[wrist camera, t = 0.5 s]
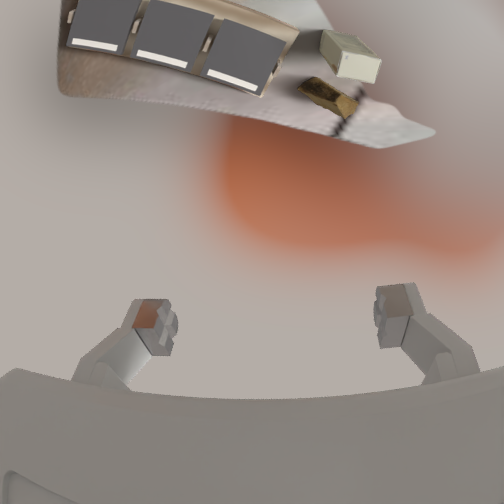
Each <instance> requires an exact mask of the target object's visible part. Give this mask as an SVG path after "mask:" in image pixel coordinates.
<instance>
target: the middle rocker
mask: <svg viewBox="0 0 504 504" xmlns="http://www.w3.org/2000/svg"><path fill="white" fill-rule="evenodd" d="M214 16H215V15H213V14H209V13H206V12H203V11H199V10H196V9H192V8H189V7H185V6H181V5H177V4H173V3H169V2H164V1H160V0H150V2H149V4H148V7H147V9H146V12H145V15H144V17H143V20H142V23H141V25H140V28H139V31H138V34H137V37H136V40H135V43H134V45H133V49H132V52H131V55H130V57H131V58H136V59H140V60H144V61H149V62H153V63H157V64H161V65H164V66H168V67H172V68H175V69H179V70H183V71H186V72H189V73H191V70H192V68H193V65H194V63H195V60H196V58H197V55H198V53H199V51H200V48H201V46H202V43H203V41H204V39H205V36H206V34H207V32H208V30H209V27H210V25H211V23H212V21H213V18H214Z"/></svg>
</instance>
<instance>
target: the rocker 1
mask: <svg viewBox="0 0 504 504" xmlns="http://www.w3.org/2000/svg"><path fill="white" fill-rule="evenodd" d="M141 2H142V0H79V2H78V5H77V8H76V11H75V15H74V18H73V21H72V25H71V29H70V32H69V36H68V40H67V44H66V46H70V47H77V48H84V49H90V50H96V51H102V52H107V53H112V54H117V55H122V54H123V53H124V50H125V46H126V43H127V40H128V37H129V34H130V31H131V29H132V26H133V23H134V20H135V17H136V15H137V12H138V9H139V7H140V4H141Z"/></svg>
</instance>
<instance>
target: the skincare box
mask: <svg viewBox="0 0 504 504" xmlns="http://www.w3.org/2000/svg"><path fill="white" fill-rule="evenodd" d="M319 51H320V52H321V54H322V55H323V56H324V58H325V59H326V61H327V62H328V64H329V65H330V67H331V68H332V70H333V71H334V73H335V75H336V76H337V77H341V78H346V79H351V80H356V81H362V82H367V83H373V84H374V82H375V80H376V77H377V74H378V72H379V69H380V66H381V63H382V60H381V59H380V58H379V57H378V56H377V55H376V54H375V53H374V52H373V51H372V50H371V49H370V48H368V46H366V45H365V44H364V43H363V42H362V41H361V40H360V39H359V38H358V37H357V36H353V35H350V34H346V33H341V32H336V31H330V30H323V33H322V37H321V41H320V47H319Z"/></svg>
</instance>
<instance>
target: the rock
mask: <svg viewBox="0 0 504 504" xmlns="http://www.w3.org/2000/svg"><path fill="white" fill-rule="evenodd" d="M298 91H301V92H302V93H304V94H306V95H307V96H308V97H309V98H310V99H311V100H312V101H313V102H314V103H315V104H317V105H320V106H322V107H323V108H325V109H329V110H330V111H332V112H333V113H335V114H336V115H339V116H341V117H343V118H346V117H347V116H349V115H350V114H353V113H354V112H355V109H356V107H357V105H358V103H359V102H358V101H356V100H355V99H353V98H351V97H349V96H347V95H346V94H344V93H342V92H340V91H339V90H337V89H335V88H334V87H333V86H331V85H329V84H328V83H326V82H324V81H322V80H321V79H320V78H317V77H315V78H312V79H310V80H308V81H306V82H304V83H303V84H302V85H301V86H300V87H299V88H298Z"/></svg>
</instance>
